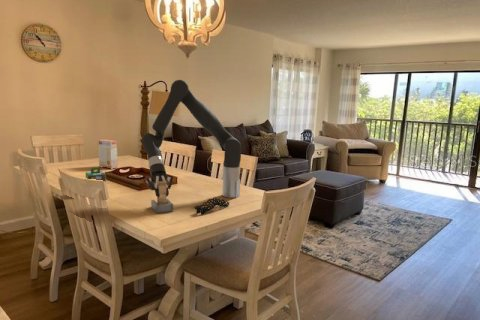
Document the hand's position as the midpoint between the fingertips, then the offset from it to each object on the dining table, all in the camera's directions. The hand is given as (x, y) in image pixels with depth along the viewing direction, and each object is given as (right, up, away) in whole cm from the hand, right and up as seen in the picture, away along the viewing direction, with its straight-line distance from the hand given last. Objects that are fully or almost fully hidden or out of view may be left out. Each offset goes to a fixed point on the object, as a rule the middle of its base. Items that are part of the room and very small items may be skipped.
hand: (162, 196), depth 170 cm
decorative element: (+23, -8, +5) cm, 25 cm away
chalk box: (-43, -1, +27) cm, 51 cm away
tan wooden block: (-1, -4, +3) cm, 5 cm away
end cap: (-1, -7, +3) cm, 7 cm away
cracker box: (-62, +11, +96) cm, 115 cm away
